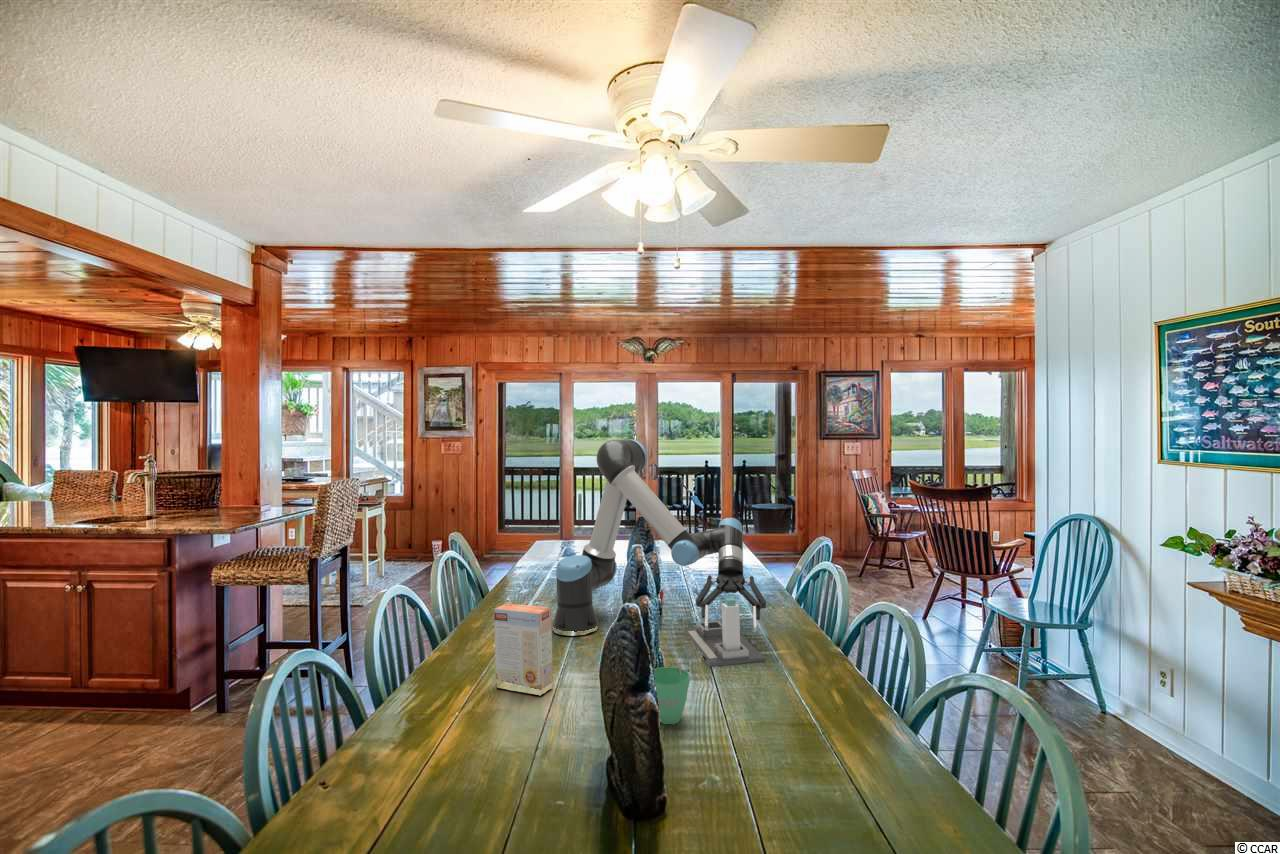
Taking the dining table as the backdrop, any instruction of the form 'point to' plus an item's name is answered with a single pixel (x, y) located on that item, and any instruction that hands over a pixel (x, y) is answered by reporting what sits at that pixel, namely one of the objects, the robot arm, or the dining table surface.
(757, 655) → the panel
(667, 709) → the green cup
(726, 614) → the plug
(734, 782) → the dining table surface
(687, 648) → the dining table surface
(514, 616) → the cracker box
